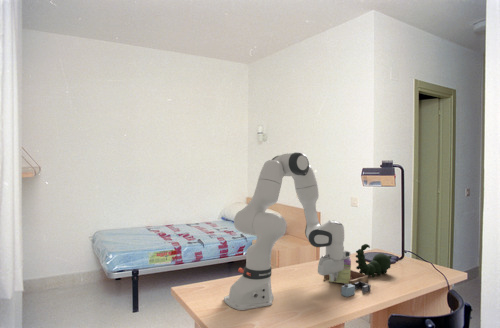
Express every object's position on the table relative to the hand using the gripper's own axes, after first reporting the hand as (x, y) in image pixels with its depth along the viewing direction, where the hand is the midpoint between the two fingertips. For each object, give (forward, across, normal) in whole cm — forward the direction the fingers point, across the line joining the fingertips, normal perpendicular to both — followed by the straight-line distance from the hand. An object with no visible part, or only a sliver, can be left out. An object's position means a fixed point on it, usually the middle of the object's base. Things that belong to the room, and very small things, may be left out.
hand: (333, 280), depth 176 cm
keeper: (+2, +6, -12) cm, 14 cm away
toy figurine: (+2, +31, -2) cm, 32 cm away
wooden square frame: (+2, +9, 0) cm, 10 cm away
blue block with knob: (+2, -4, -12) cm, 13 cm away
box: (+2, +5, +1) cm, 6 cm away
